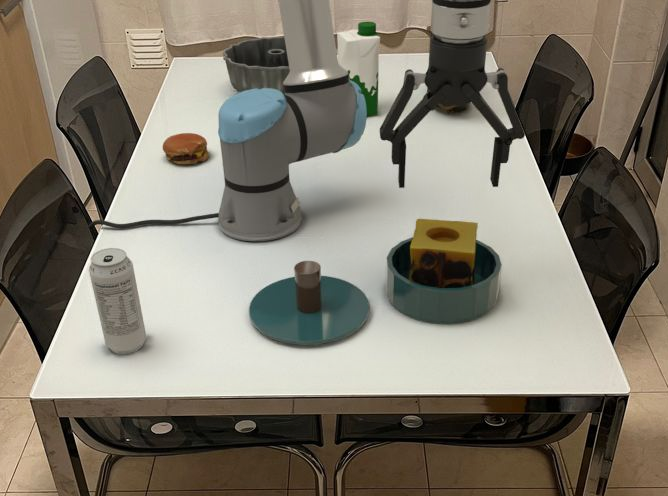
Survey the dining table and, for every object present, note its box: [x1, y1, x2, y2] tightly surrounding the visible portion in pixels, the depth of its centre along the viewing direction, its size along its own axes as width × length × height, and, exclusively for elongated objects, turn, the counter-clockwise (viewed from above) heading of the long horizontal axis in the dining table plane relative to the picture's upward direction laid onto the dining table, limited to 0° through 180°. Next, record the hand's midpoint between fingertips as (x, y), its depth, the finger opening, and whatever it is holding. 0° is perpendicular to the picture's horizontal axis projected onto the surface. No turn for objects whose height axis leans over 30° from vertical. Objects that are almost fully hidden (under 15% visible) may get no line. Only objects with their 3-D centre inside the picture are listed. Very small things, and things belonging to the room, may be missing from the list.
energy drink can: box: [88, 247, 147, 355], centre depth 120 cm, size 6×6×15 cm
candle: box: [409, 218, 479, 288], centre depth 130 cm, size 10×10×10 cm
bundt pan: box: [222, 36, 290, 95], centre depth 208 cm, size 26×26×10 cm
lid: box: [248, 260, 370, 346], centre depth 127 cm, size 19×19×8 cm
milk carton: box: [336, 21, 381, 117], centre depth 192 cm, size 9×9×20 cm
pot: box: [385, 236, 503, 325], centre depth 132 cm, size 18×18×6 cm
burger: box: [162, 132, 210, 165], centre depth 177 cm, size 10×9×5 cm
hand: (447, 183), depth 122 cm, fingers open, 13 cm apart
